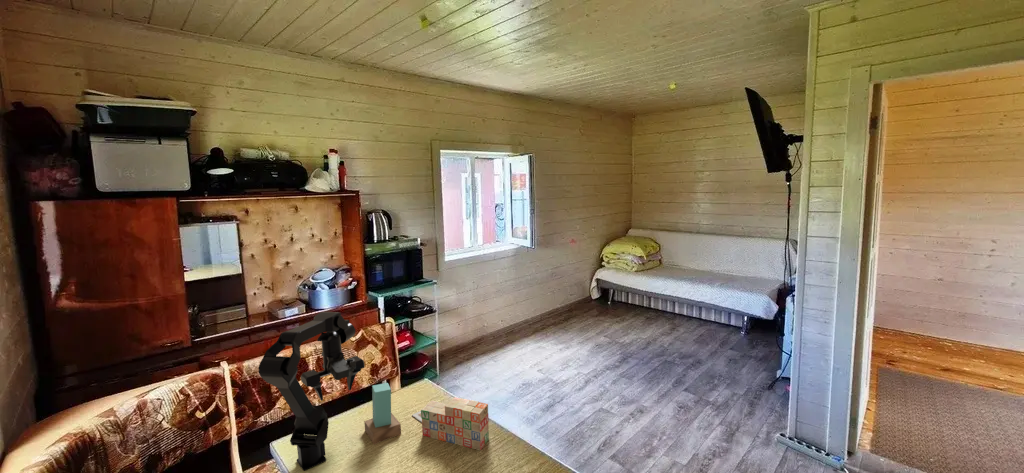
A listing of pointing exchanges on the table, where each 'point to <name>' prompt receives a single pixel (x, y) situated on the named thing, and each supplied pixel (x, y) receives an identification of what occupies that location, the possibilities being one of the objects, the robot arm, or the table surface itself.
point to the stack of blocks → (457, 422)
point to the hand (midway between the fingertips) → (335, 395)
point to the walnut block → (382, 430)
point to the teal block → (381, 404)
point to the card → (418, 416)
